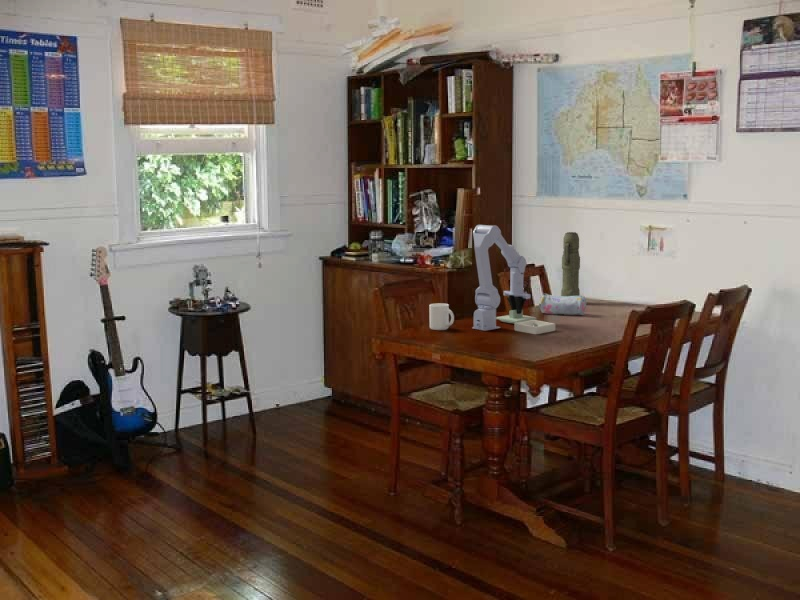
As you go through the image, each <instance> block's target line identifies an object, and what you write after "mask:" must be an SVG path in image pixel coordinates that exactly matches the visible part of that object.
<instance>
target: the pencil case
mask: <svg viewBox="0 0 800 600" xmlns="http://www.w3.org/2000/svg"><path fill="white" fill-rule="evenodd" d="M538 307H539V309H540V311H541V313H542V314H545V315H557V314H564V316H566V315H567V316H584V315H585V312H586V310H587V299H586V297H585V296H584V295H580V296H561V295H553V294H548V293H543V294H542V295H541V297H540V303H538Z"/></svg>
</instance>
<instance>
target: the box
mask: <svg viewBox="0 0 800 600" xmlns="http://www.w3.org/2000/svg"><path fill="white" fill-rule="evenodd" d="M513 331H515V332H520V333H525V334H532V335H540V334H545V333H550V332H551V333H552V332H555V331H556V323H554V322H547V321H543V320H537V319H535V320H530V321H525V322H519V323H514V330H513Z"/></svg>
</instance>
